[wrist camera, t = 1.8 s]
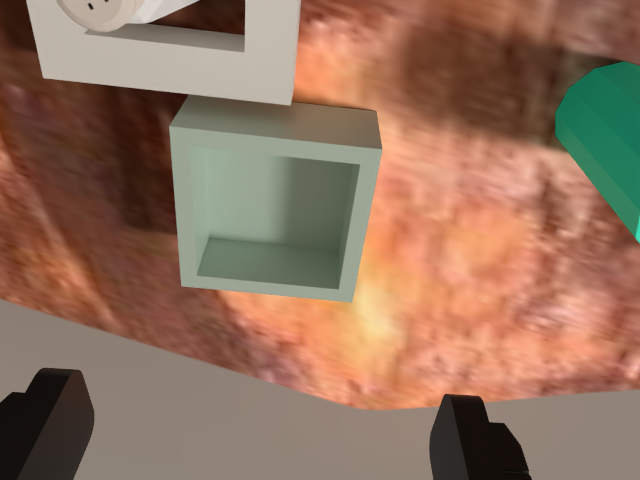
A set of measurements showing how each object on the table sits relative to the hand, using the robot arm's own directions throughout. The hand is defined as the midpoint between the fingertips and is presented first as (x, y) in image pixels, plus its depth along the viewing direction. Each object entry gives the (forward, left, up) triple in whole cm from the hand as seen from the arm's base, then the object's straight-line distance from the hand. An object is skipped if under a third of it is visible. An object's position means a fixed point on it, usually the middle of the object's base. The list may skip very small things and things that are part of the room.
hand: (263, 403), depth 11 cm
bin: (+7, -1, -22) cm, 23 cm away
